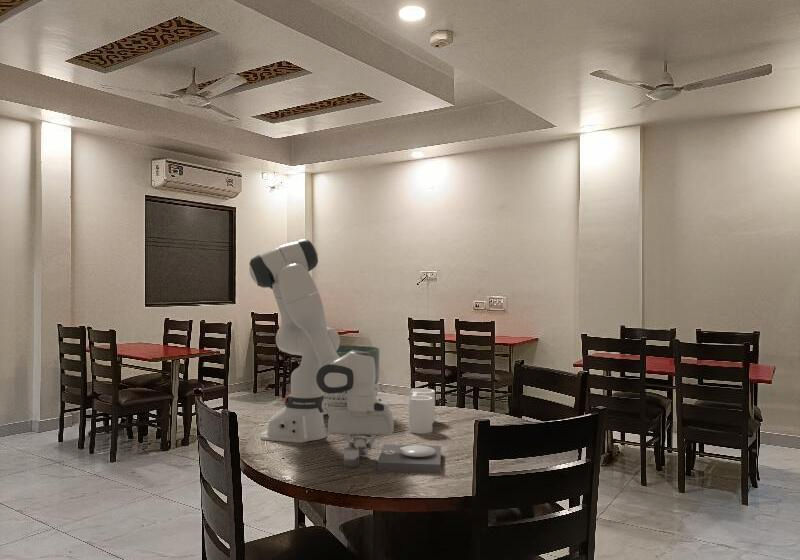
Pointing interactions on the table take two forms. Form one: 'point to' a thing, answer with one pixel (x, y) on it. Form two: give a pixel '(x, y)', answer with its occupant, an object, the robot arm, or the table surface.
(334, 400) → the planter
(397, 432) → the table surface
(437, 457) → the scale
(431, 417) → the c-shaped pipe clip
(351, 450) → the spacer
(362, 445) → the cylinder
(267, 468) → the table surface
